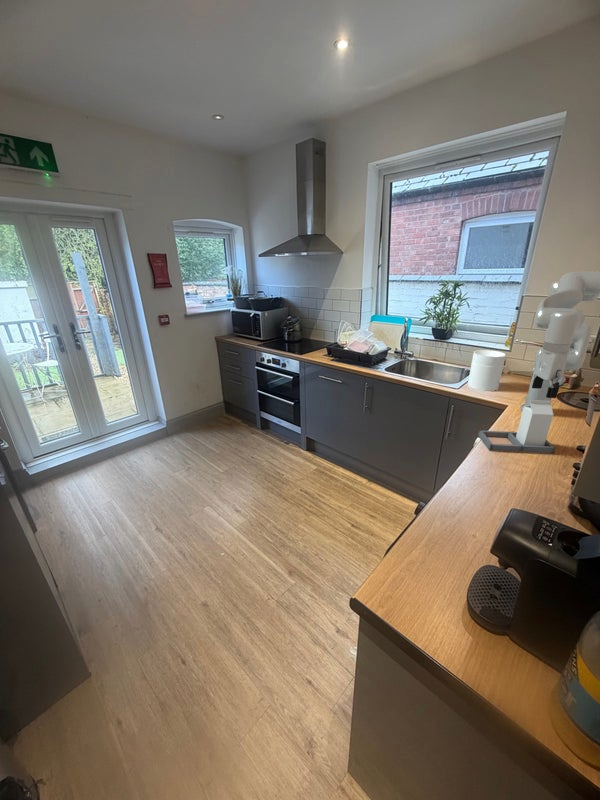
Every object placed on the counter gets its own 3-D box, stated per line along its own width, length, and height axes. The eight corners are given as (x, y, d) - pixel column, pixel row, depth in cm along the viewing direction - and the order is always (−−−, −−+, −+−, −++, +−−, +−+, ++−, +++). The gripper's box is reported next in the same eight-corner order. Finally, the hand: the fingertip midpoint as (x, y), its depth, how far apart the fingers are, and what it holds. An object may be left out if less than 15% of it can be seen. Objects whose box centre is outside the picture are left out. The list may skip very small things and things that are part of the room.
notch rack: (477, 435, 137) (478, 430, 136) (537, 438, 134) (538, 432, 133) (489, 450, 126) (490, 444, 125) (554, 453, 123) (555, 447, 122)
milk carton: (543, 449, 126) (556, 404, 119) (522, 448, 127) (535, 403, 120) (534, 440, 132) (546, 397, 125) (515, 439, 133) (526, 396, 126)
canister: (499, 384, 194) (506, 351, 186) (497, 393, 181) (505, 358, 174) (469, 380, 202) (475, 348, 194) (465, 388, 189) (472, 354, 182)
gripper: (531, 342, 123) (521, 384, 129) (559, 353, 107) (545, 401, 114) (553, 342, 122) (541, 385, 128) (584, 353, 106) (568, 402, 113)
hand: (543, 392), depth 121 cm, fingers open, 9 cm apart
